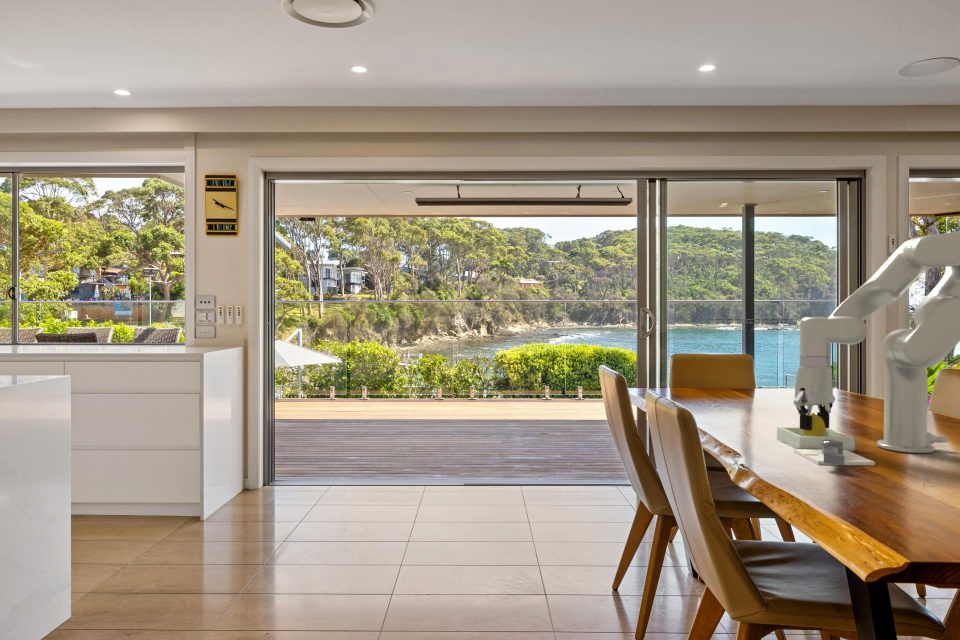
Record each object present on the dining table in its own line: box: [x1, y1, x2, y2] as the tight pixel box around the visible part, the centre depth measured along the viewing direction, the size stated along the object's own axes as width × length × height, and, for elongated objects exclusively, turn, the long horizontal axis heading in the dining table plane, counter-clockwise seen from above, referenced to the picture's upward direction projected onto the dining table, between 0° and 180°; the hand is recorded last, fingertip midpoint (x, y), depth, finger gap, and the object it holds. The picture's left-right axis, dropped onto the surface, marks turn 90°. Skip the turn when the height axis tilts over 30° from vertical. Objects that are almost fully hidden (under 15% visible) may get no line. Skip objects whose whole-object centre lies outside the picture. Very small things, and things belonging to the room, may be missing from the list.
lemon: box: [802, 412, 825, 436], centre depth 171 cm, size 6×6×8 cm
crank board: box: [793, 448, 876, 466], centre depth 156 cm, size 13×13×1 cm
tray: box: [776, 426, 856, 452], centre depth 172 cm, size 14×14×4 cm
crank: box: [822, 440, 845, 466], centre depth 150 cm, size 17×4×3 cm, turn 152°
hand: (814, 428), depth 172 cm, fingers open, 6 cm apart
